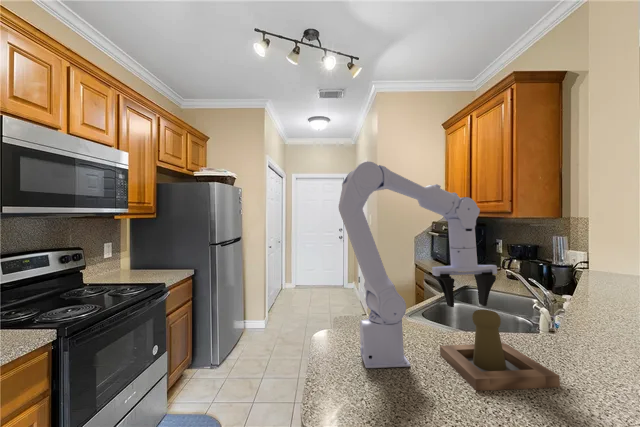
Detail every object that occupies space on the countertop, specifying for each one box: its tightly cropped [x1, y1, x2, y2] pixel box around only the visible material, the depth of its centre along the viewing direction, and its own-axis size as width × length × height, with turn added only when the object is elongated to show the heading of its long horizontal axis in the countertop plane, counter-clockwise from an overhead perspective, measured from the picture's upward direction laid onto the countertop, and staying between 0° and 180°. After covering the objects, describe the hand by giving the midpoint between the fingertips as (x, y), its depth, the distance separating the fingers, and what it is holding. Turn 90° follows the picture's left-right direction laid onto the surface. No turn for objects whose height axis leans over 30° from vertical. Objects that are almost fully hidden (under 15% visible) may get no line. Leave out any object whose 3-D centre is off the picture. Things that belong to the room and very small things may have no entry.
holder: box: [439, 342, 561, 392], centre depth 59 cm, size 15×15×2 cm
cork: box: [471, 309, 507, 371], centre depth 60 cm, size 6×6×11 cm
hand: (466, 305), depth 68 cm, fingers open, 7 cm apart
